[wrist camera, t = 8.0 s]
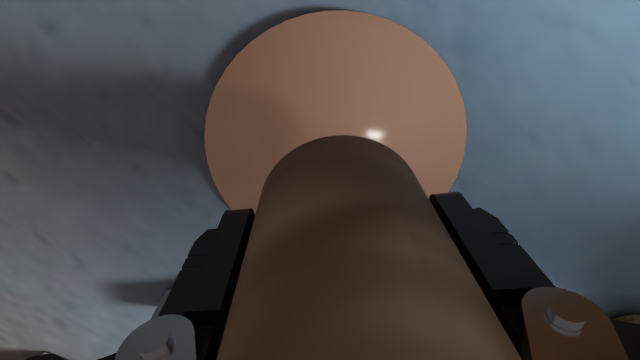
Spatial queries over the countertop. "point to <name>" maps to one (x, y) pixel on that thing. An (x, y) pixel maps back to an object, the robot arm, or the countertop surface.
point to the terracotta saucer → (333, 101)
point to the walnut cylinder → (355, 267)
